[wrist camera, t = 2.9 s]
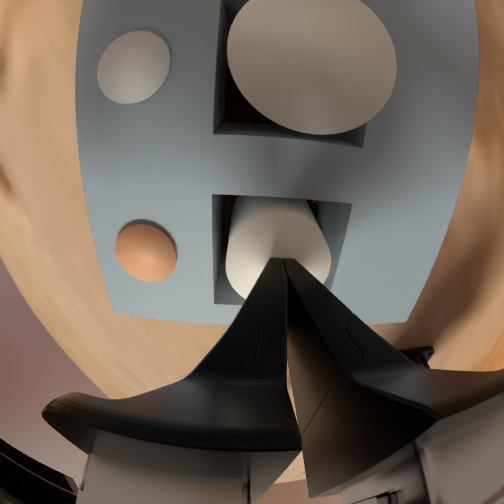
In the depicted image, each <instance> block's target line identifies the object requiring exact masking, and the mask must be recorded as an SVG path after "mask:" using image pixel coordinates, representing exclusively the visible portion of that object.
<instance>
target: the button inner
mask: <svg viewBox="0 0 504 504" xmlns="http://www.w3.org/2000/svg"><path fill="white" fill-rule="evenodd" d="M270 257H276V258H282V259H283V258H294V259H296V260H297V261H298V262H299V263H300V264H301V265H302V266H303V267H305V268H306V269H307V270H308V271H309V272H310V273H311V274H312V275H313V276H314V277H315V278H317V279H318V280H319V281H320V282H321V283H322V284H324V282H325V281H326V279H327V277H328V274H329V271H330V267H331V254H330V250H329V247H328V245H327V243H326V241H325V238H324V236H323V234H322V232H321V230H320V228H319V226H318V224H317V222H316V220H315V217H314V215H313V213H312V211H311V209H310V207H309V205H308V203H307V201H306V199H296V198H282V197H266V196H248V195H239V196H238V198H237V199H236V201H235V204H234V206H233V210H232V218H231V225H230V233H229V241H228V249H227V257H226V274H227V278H228V280H229V282H230V284H231V286H232V287H233V289H234V290H235V291H236V292H237V293H238V294H239V295H240V296H242V297H243V298H244V299H246V298H247V296H248V295H249V293H250V291H251V289H252V288H253V286H254V284H255V282H256V281H257V279H258V277H259V275H260V274H261V272H262V270H263V268H264V267H265V265H266V263H267V261H268V260H269V258H270Z"/></svg>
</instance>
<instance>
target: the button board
mask: <svg viewBox="0 0 504 504" xmlns="http://www.w3.org/2000/svg"><path fill="white" fill-rule="evenodd" d="M248 1H249V0H83V5H82V11H81V17H80V25H79V33H78V43H77V56H76V82H75V100H76V126H77V140H78V151H79V160H80V168H81V176H82V183H83V189H84V195H85V201H86V207H87V212H88V217H89V222H90V227H91V231H92V235H93V240H94V244H95V248H96V252H97V256H98V260H99V263H100V267H101V271H102V274H103V277H104V281H105V284H106V287H107V291H108V294H109V297H110V300H111V303H112V306H113V309H114V312H115V315H121V316H129V317H137V318H146V319H156V320H166V321H177V322H189V323H203V324H220V325H231V323H232V322H233V320H234V318H235V317H236V315H237V313H238V312H239V310H240V308H241V307H242V305H243V303H244V302H245V300H246V299H244V298H243V297H242V296H240V295H239V294H238V293H237V292H236V291H235V290H234V289H233V287H232V286H231V284H230V282H229V280H228V278H227V274H226V257H227V251H222V194H224V195H248V196H266V197H282V198H296V199H309V200H319V205H318V211H317V216H316V222H317V224H318V226H319V228H320V230H321V232H322V234H323V236H324V238H325V241H326V243H327V245H328V247H329V250H330V254H331V267H330V271H329V274H328V277H327V279H326V281H325V282H324V284H323V285H324V286H325V287H326V288H327V289H329V290H330V291H331V292H332V293H333V294H334V295H335V296H336V297H337V298H338V299H339V300H340V301H342V302H343V303H344V304H345V305H346V306H347V307H348V308H349V309H350V310H351V311H352V313H354V314H356V315H357V316H358V317H359V318H360V319H361V320H362V321H363V322H364V323H365V324H366V325H373V324H389V323H402V322H406V321H407V319H408V317H409V315H410V313H411V312H412V310H413V308H414V306H415V304H416V302H417V300H418V298H419V296H420V294H421V292H422V289H423V287H424V285H425V283H426V281H427V279H428V276H429V274H430V272H431V270H432V267H433V265H434V263H435V260H436V258H437V255H438V253H439V250H440V248H441V245H442V242H443V240H444V237H445V234H446V232H447V229H448V226H449V223H450V220H451V217H452V214H453V211H454V208H455V204H456V201H457V198H458V194H459V191H460V187H461V183H462V179H463V175H464V171H465V167H466V163H467V158H468V153H469V148H470V143H471V138H472V132H473V125H474V118H475V110H476V101H477V90H478V71H479V41H478V24H477V13H476V4H475V0H360V1H361V2H363V3H364V4H365V5H366V6H368V7H369V8H370V9H371V10H372V11H373V12H374V13H375V14H376V16H377V17H378V18H379V19H380V21H381V22H382V23H383V25H384V26H385V28H386V30H387V32H388V33H389V35H390V38H391V40H392V43H393V46H394V50H395V53H396V61H397V73H396V80H395V84H394V88H393V91H392V93H391V95H390V97H389V99H388V101H387V102H386V104H385V105H384V107H383V108H382V109H381V110H380V111H379V113H378V114H377V115H375V116H374V117H373V118H372V119H371V120H369V121H368V122H366V123H364V124H363V125H361V126H359V127H357V128H355V129H352V130H349V131H346V132H342V133H336V134H325V135H320V134H309V133H303V132H298V131H295V130H292V129H289V128H286V127H284V126H280V125H267V124H251V123H224V121H225V98H226V79H227V62H228V57H227V41H228V35H229V31H230V25H232V23H233V21H234V19H235V17H236V15H237V14H238V13H239V11H240V10H241V9H242V7H243V6H244V5H245V4H246V3H247V2H248Z"/></svg>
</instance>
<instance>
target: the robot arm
mask: <svg viewBox="0 0 504 504" xmlns="http://www.w3.org/2000/svg"><path fill="white" fill-rule="evenodd" d="M434 352H435V350H434V348H433V347H427V348H421V349H415V350H408V351H401V352H400V351H399V350H397V349H396V348H395V347H393V346H392V345H391V344H390V343H388V342H387V341H386V340H384V339H383V338H382V337H381V336H379V335H378V334H377V333H376V332H375V331H373V330H372V329H371V328H370V327H369V326H368V325H366V324H365V323H364V322H363V321H362V320H361V319H360V318H359V317H358V316H357V315H356V314H354V313H352V311H351V310H350V309H349V308H348V307H347V306H346V305H345V304H344V303H343V302H342V301H340V300H339V299H338V298H337V297H336V296H335V295H334V294H333V293H332V292H331V291H330V290H329V289H327V288H326V287H325V286H324V285H323V284H322V283H321V282H320V281H319V280H318V279H317V278H315V277H314V276H313V275H312V274H311V273H310V272H309V271H308V270H307V269H306V268H305V267H303V266H302V265H301V264H300V263H299V262H298V261H297V260H296V259H294V258H283V259H282V258H276V257H270V258H269V260H268V261H267V263H266V265H265V267H264V268H263V270H262V272H261V274H260V275H259V277H258V279H257V281H256V282H255V284H254V286H253V288H252V289H251V291H250V293H249V295H248V296H247V298H246V300H245V302H244V303H243V305H242V307H241V308H240V310H239V312H238V313H237V315H236V317H235V318H234V320H233V322H232V323H231V325H230V326H229V328H228V329H227V331H226V332H225V333H224V335H223V336H222V337H221V338H220V340H219V341H218V342H217V343H216V345H215V346H214V347H213V348H212V349H211V350H210V352H209V353H208V354H207V355H206V356H205V357H204V358H203V360H202V361H201V362H200V363H199V364H198V365H197V366H196V368H195V369H194V370H193V371H192V372H191V373H190V374H189V375H188V376H186V377H185V378H184V379H182V380H180V381H178V382H175V383H173V384H170V385H167V386H164V387H161V388H158V389H155V390H152V391H149V392H146V393H143V394H140V395H137V396H134V397H130V398H125V399H104V398H99V397H95V396H91V395H88V394H83V393H78V392H71V393H68V394H66V395H63V396H60V397H58V398H56V399H54V400H53V401H51V402H50V403H49V404H48V405H46V407H45V408H44V409H43V411H42V413H41V414H42V417H43V418H44V420H45V421H46V422H47V423H48V424H49V425H50V426H51V427H53V428H54V429H55V430H56V431H58V432H59V433H60V434H61V435H62V436H64V437H65V438H66V439H67V440H69V441H70V442H72V443H73V444H74V445H75V446H77V447H78V448H79V449H81V450H82V451H84V452H85V453H86V454H88V456H87V461H86V465H85V469H84V474H83V478H82V483H81V484H80V485H79V489H78V487H77V485H76V484H75V482H74V480H73V479H72V478H70V477H69V476H66V475H65V474H63V473H60V472H58V471H56V470H54V469H52V468H50V467H48V466H46V465H44V464H42V463H40V462H38V461H36V460H34V459H33V458H31V457H29V456H27V455H26V454H24V453H22V452H20V451H19V450H17V449H15V448H14V447H12V446H11V445H9V444H8V443H6V442H5V441H3V440H2V439H1V438H0V504H251V502H256V501H257V500H258V499H259V498H260V497H261V496H262V495H263V494H264V493H265V491H267V490H268V489H269V487H270V486H271V485H272V484H273V483H274V482H275V481H276V480H277V479H278V478H279V477H280V476H281V474H282V473H283V472H284V471H285V470H286V469H287V468H288V466H289V465H290V464H291V463H292V462H293V461H294V459H295V458H296V457H297V456H298V454H299V453H300V452H301V451H302V452H303V459H304V465H305V472H306V478H307V485H308V491H309V498H316V497H323V496H329V495H335V494H341V496H342V504H504V369H501V370H497V371H488V372H475V371H454V370H439V369H430V367H429V365H428V363H427V362H428V360H429V359H430V358H431V356H432V355H433V354H434ZM287 361H288V367H289V372H290V378H291V384H292V390H293V396H294V402H295V408H296V414H297V420H298V424H297V420H296V417H295V413H294V410H293V407H292V403H291V400H290V397H289V393H288V390H287V373H286V372H287ZM298 426H299V427H298Z"/></svg>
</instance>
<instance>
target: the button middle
mask: <svg viewBox="0 0 504 504" xmlns="http://www.w3.org/2000/svg"><path fill="white" fill-rule="evenodd" d="M227 57H228V63H229V68H230V71H231V74H232V77H233V79H234V81H235V83H236V85H237V87H238V88H239V90H240V91H241V93H242V94H243V96H244V97H245V98H246V99H247V100H248V101H249V103H250V104H251V105H252V106H253V107H255V108H256V109H257V110H258V111H259V112H260V113H262V114H263V115H264V116H266V117H267V118H268V119H270V120H272V121H274V122H276V123H277V124H279V125H282V126H284V127H286V128H289V129H292V130H295V131H298V132H303V133H309V134H320V135H325V134H336V133H342V132H346V131H349V130H352V129H355V128H357V127H359V126H361V125H363V124H364V123H366V122H368V121H369V120H371V119H372V118H373V117H374V116H375V115H377V114H378V113H379V111H380V110H381V109H382V108H383V107H384V105H385V104H386V102H387V101H388V99H389V97H390V95H391V93H392V91H393V88H394V84H395V80H396V73H397V61H396V53H395V50H394V46H393V43H392V40H391V38H390V35H389V33H388V32H387V30H386V28H385V26H384V25H383V23H382V22H381V21H380V19H379V18H378V17H377V16H376V14H375V13H374V12H373V11H372V10H371V9H370V8H369V7H368V6H366V5H365V4H364V3H363V2H361V1H360V0H249V1H248V2H247V3H246V4H245V5H244V6H243V7H242V9H241V10H240V11H239V13H238V14H237V15H236V17H235V19H234V21H233V23H232V25H231V28H230V31H229V35H228V41H227Z"/></svg>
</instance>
